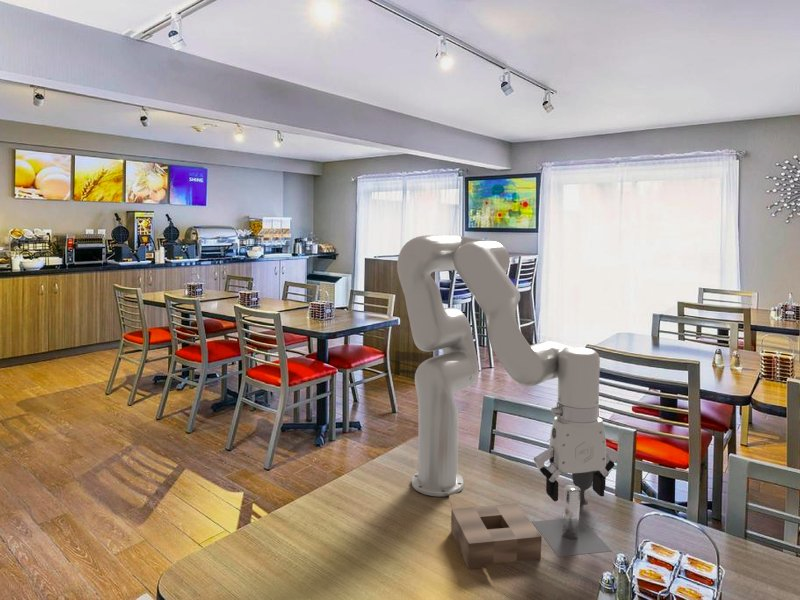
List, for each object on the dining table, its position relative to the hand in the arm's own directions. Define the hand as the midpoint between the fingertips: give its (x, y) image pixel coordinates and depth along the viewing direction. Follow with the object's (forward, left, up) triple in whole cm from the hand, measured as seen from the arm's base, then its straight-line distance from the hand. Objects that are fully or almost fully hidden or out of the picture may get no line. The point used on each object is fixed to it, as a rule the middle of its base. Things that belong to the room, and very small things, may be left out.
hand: (575, 495), depth 104 cm
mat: (-1, 0, -9) cm, 9 cm away
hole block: (-1, -16, -9) cm, 19 cm away
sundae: (-13, +9, -10) cm, 18 cm away
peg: (-1, 0, -9) cm, 9 cm away
